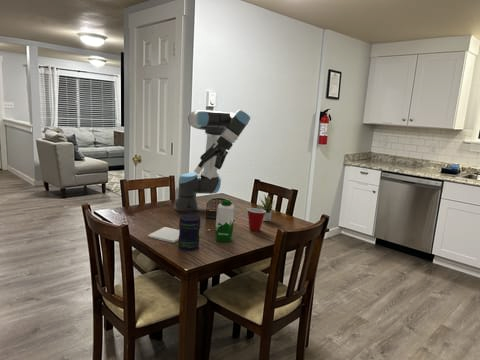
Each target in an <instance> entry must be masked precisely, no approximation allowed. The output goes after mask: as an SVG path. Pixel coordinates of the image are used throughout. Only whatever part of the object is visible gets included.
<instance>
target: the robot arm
mask: <svg viewBox="0 0 480 360" xmlns="http://www.w3.org/2000/svg"><path fill="white" fill-rule="evenodd" d="M250 120H251V115H249V114H247V113H246V112H245V111H243V110H242V109H238V110H237V111H236V112H230V111H229V112H224V111H217V110H216V111H215V110H203V109H202V110H199V109H198V110H195V111H194V110H193V111H192V112H190V114H188V117H187V122H188V124H189V126H191V127H192V128H194V129H197V130H201V131H202V130H203V131H204V133H205V134H206V142H205V143H206V145H205V151H204V153H203V154H202V155H200V158H199V159H200V162H199V163H198V164H197V166H196V167H195V169H194V171H193V172H188V173H187V172H186V173H182V174H180V175H179V177H178V193H177V199H176V202H175V204H174V210H176V211H178V212H181V213H182V212H183V213H188V212H189V213H193V212H196V211H198V210H199V204H198V199H197V195H198V194H207V195H209V194H210V195H212V194H217V193H218V192H219V191H220V189H221V182H222V181H221V180H222V179H221V178H222V177H221V176H220V175H219V173H218V170H221V169H222V167H223V164H224V162H225V160H226V157H227V155H228V154H229V152H228V151H230V149H232V147H233V145H234V144H235V143H236V141H237V140H238V138H239V137H240V135H242V133H243V131H244V129H245V128H246V126H247V125H248V124H249V123H250ZM202 170H203V171H202Z"/></svg>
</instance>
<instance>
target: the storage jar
mask: <svg viewBox="0 0 480 360" xmlns="http://www.w3.org/2000/svg"><path fill="white" fill-rule="evenodd" d="M201 218H202V217H201V216H200V215H197V214H193V213H191V214H190V213H186V214H185V213H183V214H181V215H180V216H179V222H178V225H179V226H178V228H179V229H178V230H180V231H179V237H178V238H179V239H178V241H177V242H178V244H177V245H178V246H177V247H178V250H181V251H183V252H195V251H197V250H199V248H200V246H199V245H200V230H201Z"/></svg>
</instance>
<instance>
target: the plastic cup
mask: <svg viewBox="0 0 480 360" xmlns="http://www.w3.org/2000/svg"><path fill="white" fill-rule="evenodd" d="M263 209H264V208H256V207H249V208H246V210H247V217H248V225H249V227H248V228H249V230H250V231H251V230H252V231H251V232H255V231H257V232H260V231H261V227H262V223H263V217H264V214H265V213H266V211H265V210H263ZM259 230H260V231H259Z"/></svg>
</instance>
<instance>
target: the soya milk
mask: <svg viewBox="0 0 480 360" xmlns="http://www.w3.org/2000/svg"><path fill="white" fill-rule="evenodd" d="M221 201H222V202H221V203H218V206H217V208H216V220H215V240H216V241H215V242H219V243H220V242H222V243H231V239H232V237H233V233H234V232H233V230H234V222H235V221H234V220H235V219H234V217H235V205H234V204H232V203H231V200H229V199H223V200H221Z"/></svg>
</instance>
